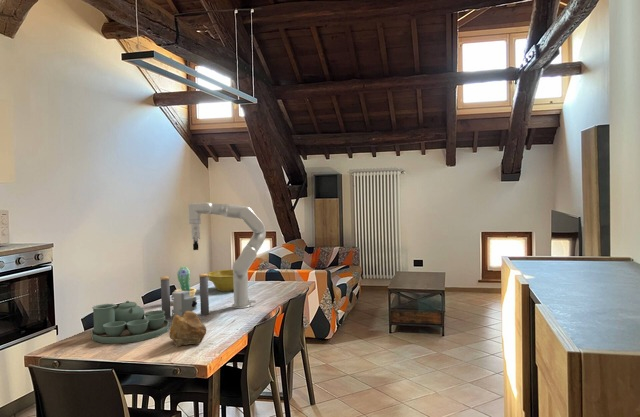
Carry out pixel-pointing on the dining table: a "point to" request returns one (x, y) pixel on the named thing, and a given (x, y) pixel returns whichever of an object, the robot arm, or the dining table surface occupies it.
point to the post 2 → (204, 294)
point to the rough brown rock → (187, 329)
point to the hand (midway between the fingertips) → (195, 249)
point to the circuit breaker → (183, 303)
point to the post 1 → (165, 296)
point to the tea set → (126, 323)
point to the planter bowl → (222, 279)
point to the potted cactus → (185, 281)
